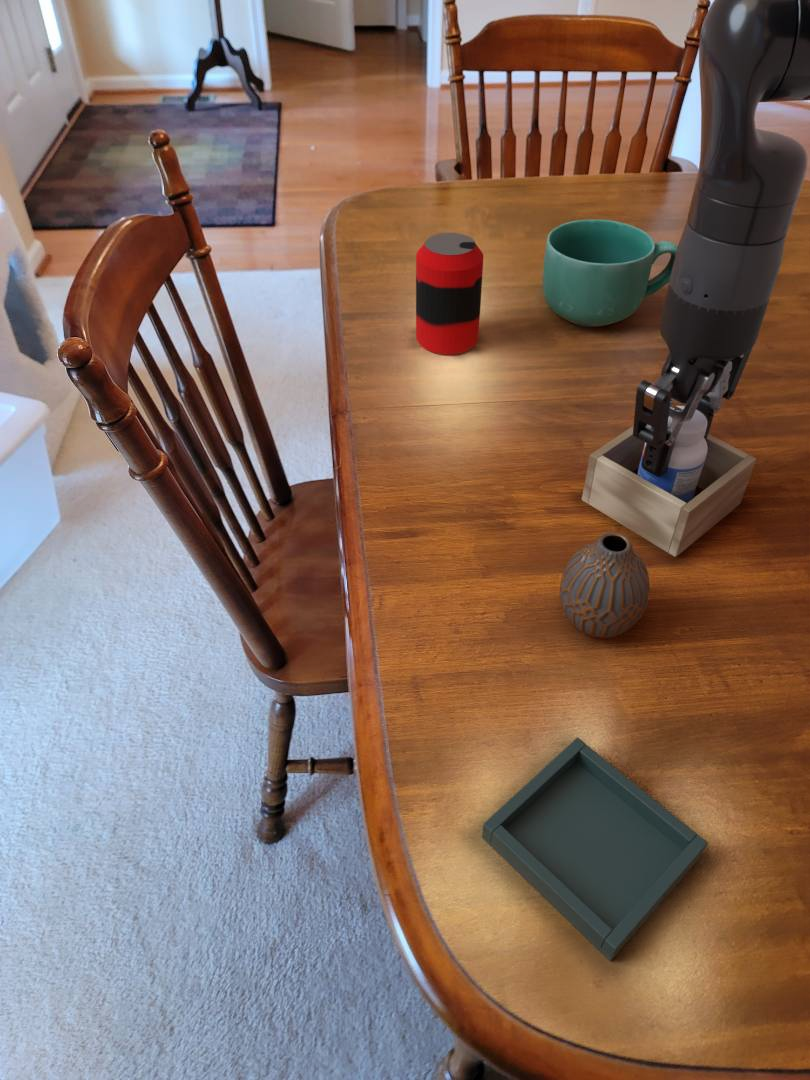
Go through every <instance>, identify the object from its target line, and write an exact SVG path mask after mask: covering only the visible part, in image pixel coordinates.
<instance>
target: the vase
mask: <svg viewBox="0 0 810 1080" xmlns="http://www.w3.org/2000/svg"><path fill="white" fill-rule="evenodd" d="M650 587H651V585H650V576H649V571H648V569H647V566H646V564H645V562H644V560H643V559H642V558H641V556H640V555H639V554H638V552H637V551H636V550H635V548H633V545H632V542H631V540H630V539H629V538H628V536H626V535H625V534H622V533H620V532H616V531H609V532H605V533H603V534H601V535H600V536H599V537H598V539H596V540H594V541H592V542H589V543H587V544H584V545H583V546H582V547H580V548H579V549H578V550H577V551H576V552H574V554H573V555H572V556H571V558H569V560H568V561H567V563H566V565H565V567H564V569H563V572H562V574H561V578H560V583H559V599H560V605H561V608H562V611H563V613H564V615H565V617H566V618H567V620H568V622H569V623H570V624H572V626H573V627H574V628H575V629H577V630H578V631H579V632H582V633H583V634H585V635H587V636H591V637H595V638H602V639H603V638H612V637H613V638H614V637H616V636H620V635H622V634H625V633H626V632H627V631H628V630H630V629H631V628H632V627H634V626H635V625H636V624H637V622H638V621H639V620H640V619H641V617H642V616H643V614H644V612H645V610H646V607H647V605H648V601H649V598H650V589H651V588H650Z"/></svg>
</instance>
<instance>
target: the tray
mask: <svg viewBox="0 0 810 1080" xmlns="http://www.w3.org/2000/svg"><path fill="white" fill-rule="evenodd" d="M481 838H482V839H483V840H484V841H485V842H486V843H487V844H488V846H490V847H491V848H492V849H493V850H494V851H495V852H496V853H497V854H498V855H499V856H501V857H502V858H503V859H504V861H505V862H506V863H508V864H509V866H511V867H512V869H514V870H515V871H516V872H517V873H518V874H519V875H520V876H521V877H522V878H523V879H524V880H525V881H526V882H527V883H528V884H530V885H531V887H532V888H533V889H535V890H536V891H537V892H538V893H539V894H540V895H541V897H543V898H544V899H545V900H546V901H547V902H548V903H549V904H550V905H551V906H552V907H553V908H554V909H555V910H556V911H557V912H558V913H559V914H561V916H563V918H564V919H566V920H567V921H568V922H569V923H570V924H571V925H572V926H573V927H574V928H575V929H576V930H577V931H578V932H579V933H580V934H581V935H582V936H583V937H584V938H585V939H586V940H587V941H588V942H590V943H591V944H592V945H593V946H594V947H595V949H597V950H598V951H599V953H601V954H602V955H603V956H604V957H605V958H606V959H607V960H608V961H609V962H611V961H613V960H614V958H615V957H616V956H617V955H618V954H619V953H620V951H621V950H622V949H624V947H625V945H626V944H627V943H628V942H629V941H630V940H631V939H632V938H633V936H635V934H636V933H637V931H639V929H640V928H641V927H643V925H644V924H645V922H646V921H647V920H648V919H649V918H650V917H651V915H652V914H653V913H654V912H655V911H656V910H657V909H658V907H659V906H660V905H661V904H662V903H663V902H664V901H665V899H666V898H667V897H668V896H669V895H670V893H671V892H672V891H674V889H675V888H676V887H677V886H678V884H679V883H680V882H681V881H682V880H683V879H684V877H685V876H686V875H687V874H688V873H689V872H690V870H691V869H692V868H693V867H694V866H695V865H696V863H697V862H698V861H699V860H700V859H701V857H702V856H703V853H705V850H706V848H707V846H708V845H709V842H708V841H707V840H705V839H704V838H703V837H702V836H700V835H699V834H698V833H697V832H696V831H694V830H693V829H692V828H691V827H689V825H687V824H686V823H684V822H683V821H682V820H680V819H679V818H678V817H677V816H676V815H675V814H673V813H672V812H671V811H669V809H667V808H666V807H665V806H663V805H662V804H661V803H659V802H658V801H657V800H656V799H655V798H654V797H652V796H651V795H649V793H647V792H646V791H645V790H644V789H642V788H641V787H640V786H639V785H637V784H636V783H635V782H633V780H631V779H630V778H629V777H627V776H626V775H625V774H624V773H623V772H621V771H620V770H619V769H617V768H616V767H615V766H614V765H613V764H612V763H610V762H609V761H608V760H607V759H605V758H604V757H603V756H601V755H600V754H599V753H598V752H596V750H594V749H593V748H592V747H590V746H589V745H588V744H587V743H586V742H584V741H583V740H582V739H581V738H579V737H576V738H575V739H573V740H572V742H571V743H569V744H568V745H567V746H566V747H565V748H564V749H563V750H562V751H561V752H560V753H558V754H557V755H556V756H555V757H554V758H553V759H552V760H551V761H550V762H548V763H547V764H546V766H545V767H543V768H542V769H541V770H540V771H539V772H537V773H536V775H535V776H533V777H532V778H531V779H530V780H529V781H528V782H527V783H526V784H525V785H524V786H522V788H520V789H519V790H518V791H517V792H516V793H515V794H514V795H513V796H512V797H511V798H509V800H507V801H506V802H505V803H504V804H503V805H502V806H501V807H499V809H498V810H497V811H495V812H494V813H493V814H492V815H491V816H490V817H489V818H488V819H487V820H485V822H483V824H482V833H481Z"/></svg>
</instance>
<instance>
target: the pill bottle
mask: <svg viewBox="0 0 810 1080" xmlns="http://www.w3.org/2000/svg"><path fill="white" fill-rule="evenodd" d="M676 406H677V407H679V408H681V409H684V407H685V405H676ZM671 423H672V418H671V417H670V416H669V418H668V426H667V429H669V427H670V425H671ZM707 423H708V422H707V419H706V417H705V416H704V415H703V414H702V413H701V412H700V411H698V410H696V411H695V413H694V415H693V417H692V419H691V420H690V421H686V422H684V423H683V425H682V427H681V429H680V431H679V433H678V435H677V437H676V439H675V443H674V447H673V451H672V454H671V458H670V462H669V465H668V469H667V472H666V473H665V474H664V475H663V476H661V477H656V476H655V475H653V474H651V473H649V472H648V471H646V470H644V469H643V468H642V465H641V463H642V459H643V455H644V451H645V447H646V443H645V445H644V449H643V453H642V457H641V461H640V465H639V468H637V474H636V475H638V476H640V477H641V478H643V479H645V480H647V481H649V482H650V483H652V484H654V485H656V486H657V487H659V488H661V489H663V490H664V491H666V492H668V493H670V494H671V495H673V496H675V497H677V498H678V499H680V500H682V501H684V502H686V503H688V502H690V501H691V500H692V499H693V498H694V497H695V492H696V489H697V487H698V486H697V483H698V480H699V477H700V474H701V471H702V468H703V465H704V462H705V458H706V455H707V450H708V447H707V442H706V440H705V438H704V435H705V432H706V428H707Z"/></svg>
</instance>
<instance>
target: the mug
mask: <svg viewBox="0 0 810 1080" xmlns="http://www.w3.org/2000/svg"><path fill="white" fill-rule="evenodd" d="M677 247H678V245H677V244H676V243H674V242H672V241H670V240H660V241H658V242H655V240H654V239H653V237H652V236H651V235H650V234H648V232H646V231H644V230H643V229H641V228H638V227H637V226H634V225H631V224H628V223H624V222H620V221H616V220H610V219H597V218H596V219H595V218H594V219H593V218H591V219H578V220H573V221H569V222H564V223H563V224H560V225H558V226H556V227H555V228H553V229H552V230H551V231H550V232H549V233H548V235H547V238H546V243H545V251H544V260H543V270H542V292H543V296H544V299H545V302H546V303H547V305H548V306H549V308H550V309H551V310H552V311H553V312H554V313H555V314H557V315H558V316H559V317H561V318H562V319H564V320H567V321H568V322H570V323H572V324H574V325H577V326H579V327H580V326H581V327H587V328H588V327H589V328H597V327H598V328H599V327H604V326H608V325H611V324H615V323H619V322H622V321H623V320H625V319H627V318H629V317H630V316H632V315H633V314H634V313H635V312H636V311H637V310H638V309H639V307H640V306H641V304H642V302H643V300H644V299H645V298H647V297H649V296H652V295H653V294H656V293H657V292H658V291H660V290H661V289H662V288H664V287H665V286H666V285H667V284H669V281H670V277H671V272H672V268H673V264H674V259H675V255H676V251H677ZM664 254H670V258H669V259H668V263H667V264H666V266H665V267H664V268H663V269H662V270H661V271H660V272H659V273H658V274H657V275H655V276H654V277H652V278H651V279H650V277H651V272H652V268H653V267H652V266H653V265H654V264H655V262H656V261H657V259H658V258H659V257H660V256H661V255H664Z"/></svg>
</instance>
